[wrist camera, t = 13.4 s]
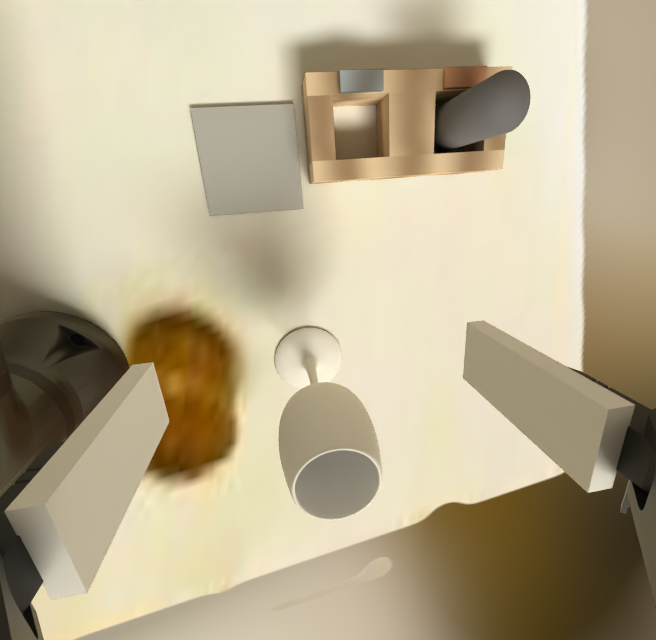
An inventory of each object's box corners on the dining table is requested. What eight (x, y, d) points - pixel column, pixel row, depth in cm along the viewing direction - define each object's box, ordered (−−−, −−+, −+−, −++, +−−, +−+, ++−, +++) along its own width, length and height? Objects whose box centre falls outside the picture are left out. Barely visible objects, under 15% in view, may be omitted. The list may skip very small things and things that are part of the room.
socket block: (309, 183, 37) (314, 181, 32) (301, 87, 34) (305, 69, 29) (480, 171, 39) (506, 168, 35) (487, 80, 36) (516, 63, 32)
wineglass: (344, 327, 43) (404, 431, 23) (339, 387, 45) (389, 526, 26) (275, 326, 41) (276, 438, 22) (274, 388, 44) (275, 537, 24)
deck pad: (210, 215, 36) (210, 216, 36) (191, 109, 33) (190, 108, 32) (303, 208, 37) (303, 208, 37) (293, 104, 34) (293, 103, 34)
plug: (420, 153, 37) (476, 135, 27) (421, 108, 36) (481, 70, 26) (457, 151, 38) (526, 132, 28) (460, 106, 36) (533, 68, 26)
